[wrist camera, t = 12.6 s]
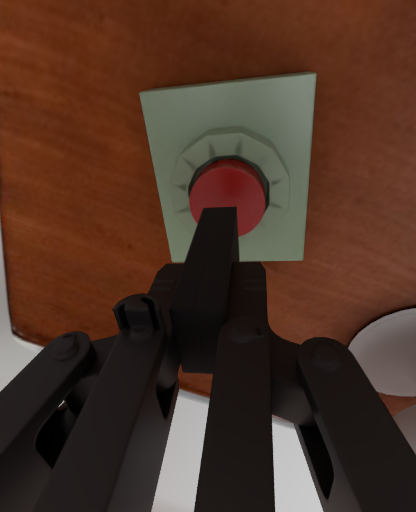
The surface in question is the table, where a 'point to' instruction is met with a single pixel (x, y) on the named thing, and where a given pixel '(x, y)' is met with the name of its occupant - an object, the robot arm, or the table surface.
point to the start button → (230, 192)
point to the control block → (236, 153)
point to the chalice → (391, 362)
